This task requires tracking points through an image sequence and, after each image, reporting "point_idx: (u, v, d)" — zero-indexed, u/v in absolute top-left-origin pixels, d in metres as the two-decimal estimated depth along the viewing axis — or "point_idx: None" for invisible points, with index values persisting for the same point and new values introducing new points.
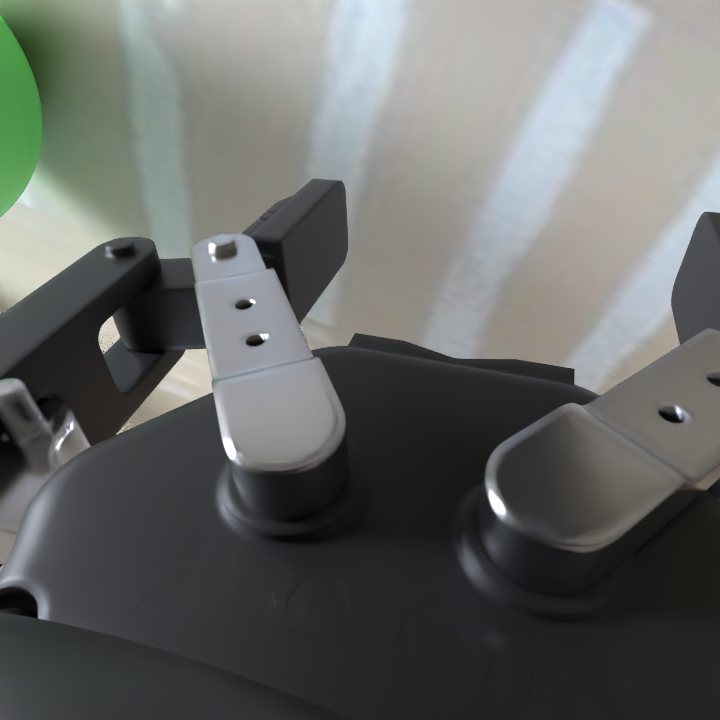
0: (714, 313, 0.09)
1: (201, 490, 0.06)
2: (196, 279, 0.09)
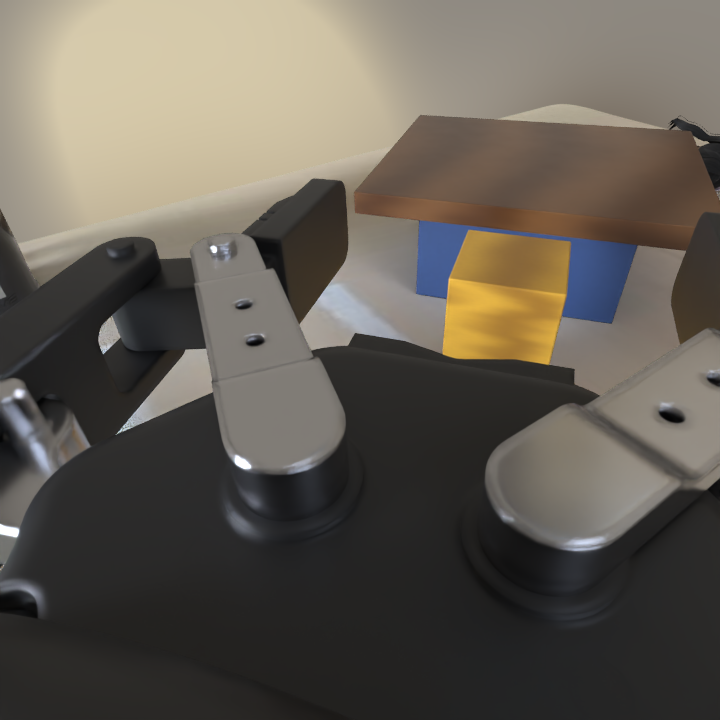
0: (714, 313, 0.09)
1: (201, 490, 0.06)
2: (196, 279, 0.09)
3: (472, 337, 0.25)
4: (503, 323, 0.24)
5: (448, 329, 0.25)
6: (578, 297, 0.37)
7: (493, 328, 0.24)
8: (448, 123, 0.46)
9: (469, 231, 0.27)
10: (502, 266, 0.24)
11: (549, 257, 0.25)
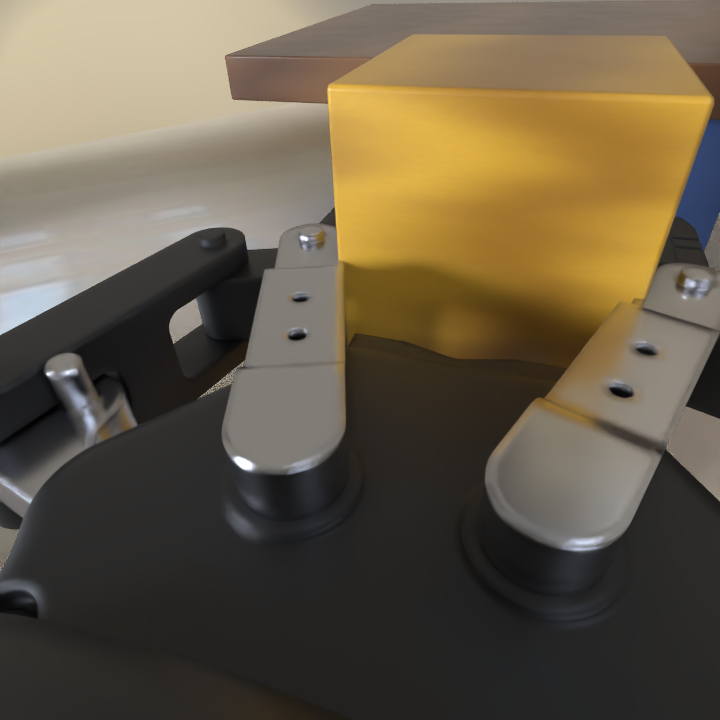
0: None
1: (201, 490, 0.06)
2: (276, 265, 0.09)
3: (410, 280, 0.09)
4: (496, 227, 0.08)
5: (347, 259, 0.09)
6: None
7: (468, 248, 0.08)
8: (411, 7, 0.30)
9: (413, 35, 0.11)
10: (492, 65, 0.08)
11: (623, 52, 0.09)
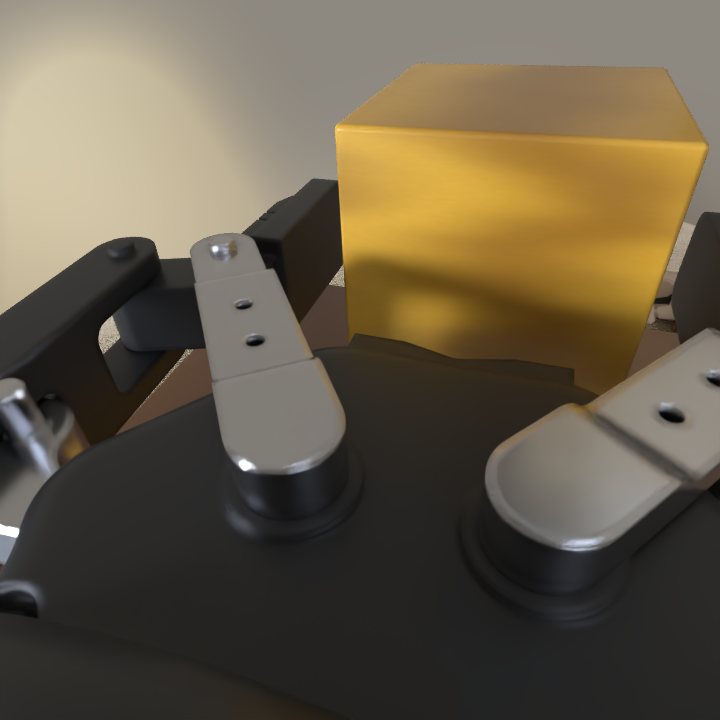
0: (714, 313, 0.09)
1: (201, 490, 0.06)
2: (196, 279, 0.09)
3: (416, 308, 0.09)
4: (498, 261, 0.08)
5: (353, 288, 0.10)
6: None
7: (471, 280, 0.09)
8: None
9: (416, 64, 0.11)
10: (493, 102, 0.09)
11: (621, 87, 0.09)
